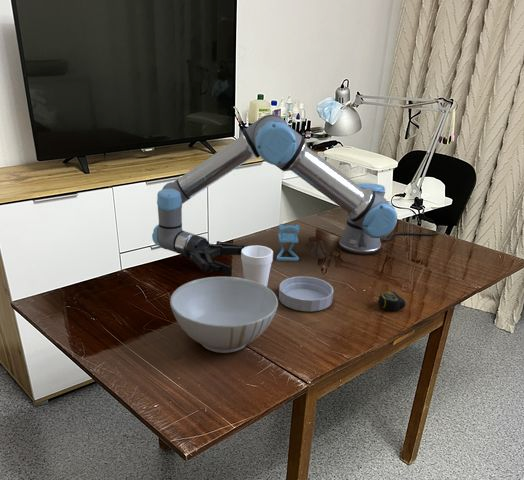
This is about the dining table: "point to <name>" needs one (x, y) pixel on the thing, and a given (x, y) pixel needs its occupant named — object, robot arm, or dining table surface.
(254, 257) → the foam cup
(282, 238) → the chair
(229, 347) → the decorative bowl
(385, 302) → the tape measure
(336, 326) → the dining table surface
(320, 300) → the white plant saucer
